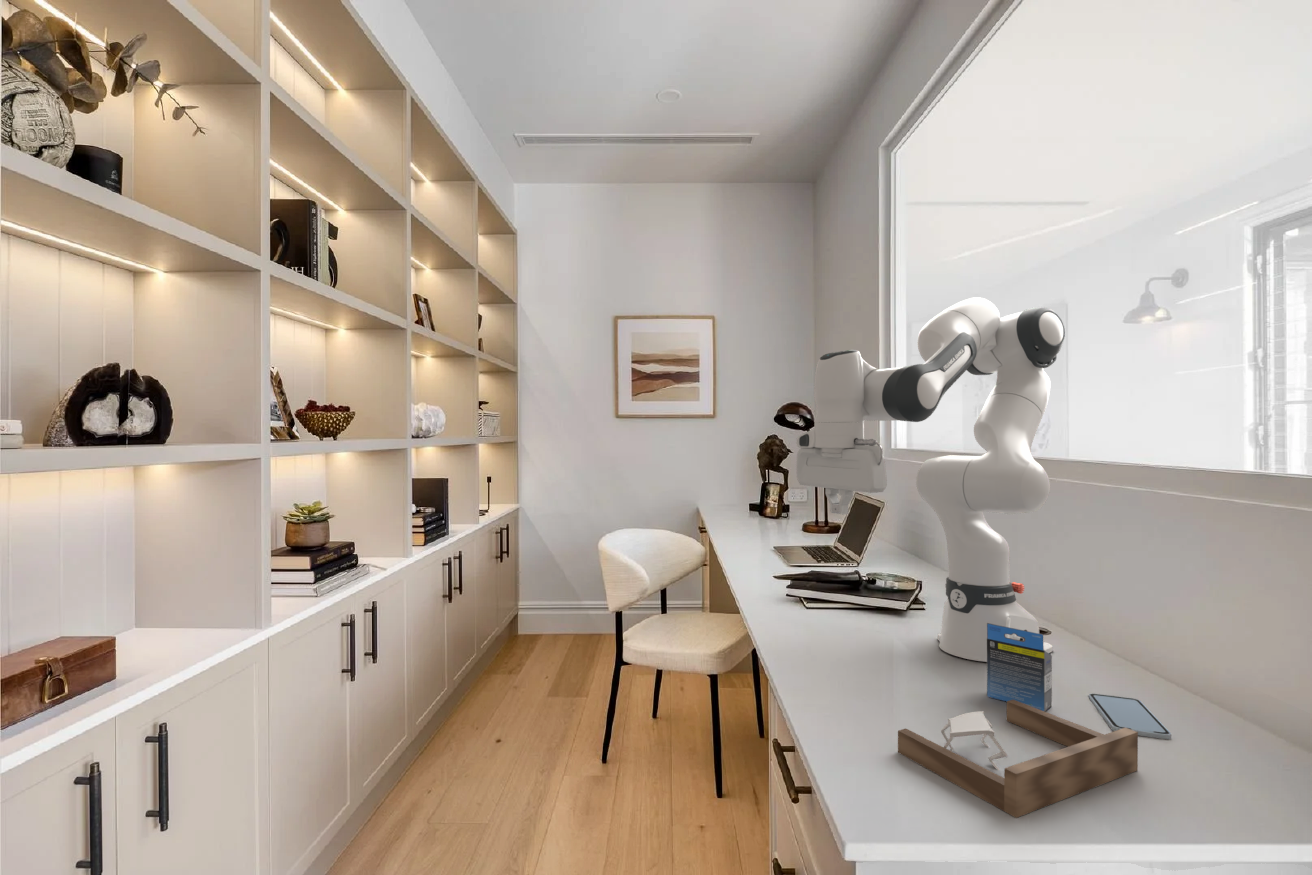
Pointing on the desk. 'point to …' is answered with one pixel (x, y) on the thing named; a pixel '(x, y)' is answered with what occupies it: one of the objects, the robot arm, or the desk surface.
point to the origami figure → (972, 731)
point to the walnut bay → (1034, 762)
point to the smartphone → (1129, 715)
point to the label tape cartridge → (1018, 667)
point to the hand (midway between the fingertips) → (839, 513)
